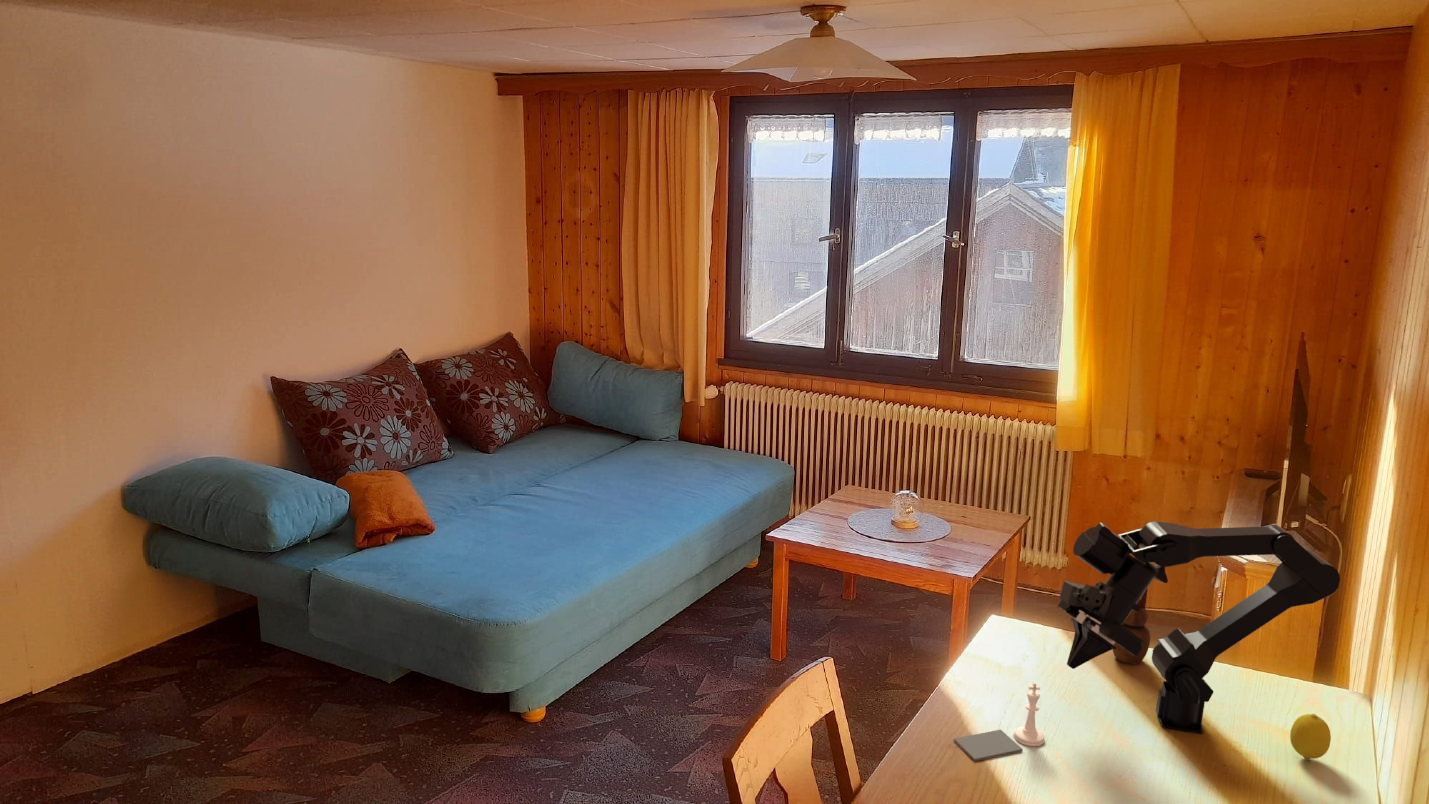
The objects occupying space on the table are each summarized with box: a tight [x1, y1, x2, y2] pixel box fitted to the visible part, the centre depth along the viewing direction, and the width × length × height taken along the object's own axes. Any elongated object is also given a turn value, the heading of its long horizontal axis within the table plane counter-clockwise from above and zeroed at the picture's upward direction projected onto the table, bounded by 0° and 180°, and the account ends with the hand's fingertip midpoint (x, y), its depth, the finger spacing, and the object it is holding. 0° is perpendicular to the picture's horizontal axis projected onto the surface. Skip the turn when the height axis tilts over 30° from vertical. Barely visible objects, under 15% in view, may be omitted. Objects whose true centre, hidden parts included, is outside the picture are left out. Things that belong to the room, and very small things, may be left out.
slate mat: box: [953, 729, 1023, 762], centre depth 164 cm, size 9×6×1 cm, turn 109°
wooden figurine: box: [1112, 587, 1151, 665], centre depth 192 cm, size 7×6×15 cm
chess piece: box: [1013, 682, 1046, 747], centre depth 166 cm, size 5×5×10 cm
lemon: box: [1289, 713, 1332, 761], centre depth 161 cm, size 6×6×8 cm
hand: (1069, 666), depth 167 cm, fingers closed
